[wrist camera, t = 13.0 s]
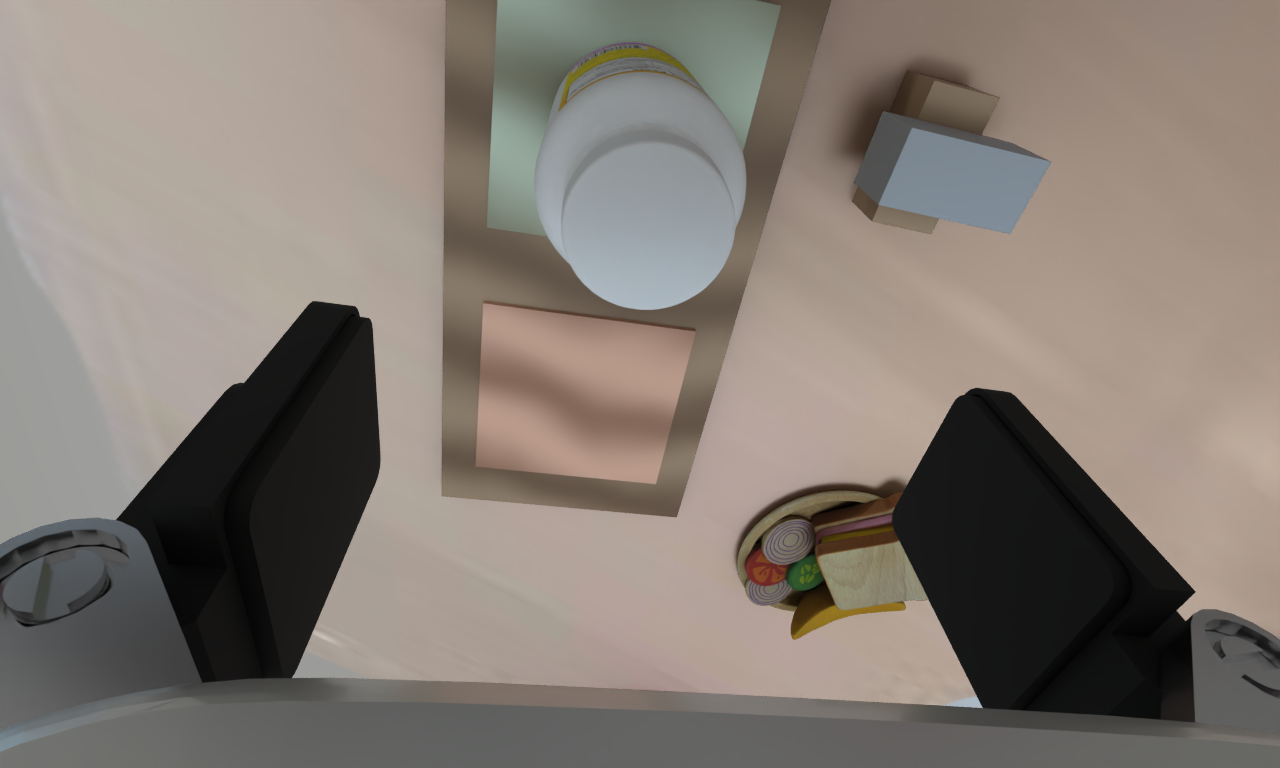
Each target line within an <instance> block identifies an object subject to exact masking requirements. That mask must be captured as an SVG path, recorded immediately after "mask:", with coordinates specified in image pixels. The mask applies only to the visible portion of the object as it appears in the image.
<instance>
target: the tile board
mask: <svg viewBox="0 0 1280 768" xmlns="http://www.w3.org/2000/svg"><path fill="white" fill-rule="evenodd" d="M830 2H831V0H446V55H445V174H444V292H443V410H442V496H446V497H457V498H468V499H479V500H490V501H502V502H513V503H524V504H535V505H546V506H557V507H568V508H579V509H590V510H601V511H612V512H624V513H635V514H646V515H657V516H668V517H677V515H678V511H679V508H680V505H681V501H682V498H683V495H684V491H685V488H686V484H687V481H688V478H689V474H690V471H691V468H692V464H693V461H694V458H695V454H696V451H697V448H698V444H699V441H700V438H701V434H702V431H703V428H704V424H705V421H706V417H707V414H708V411H709V407H710V404H711V401H712V397H713V394H714V391H715V387H716V384H717V381H718V377H719V374H720V371H721V367H722V364H723V360H724V357H725V354H726V350H727V347H728V344H729V340H730V337H731V334H732V330H733V327H734V324H735V320H736V317H737V314H738V310H739V307H740V303H741V300H742V297H743V293H744V290H745V287H746V283H747V280H748V277H749V273H750V270H751V267H752V263H753V260H754V257H755V253H756V250H757V247H758V243H759V240H760V236H761V233H762V230H763V226H764V223H765V220H766V216H767V213H768V210H769V206H770V203H771V200H772V196H773V193H774V190H775V186H776V183H777V179H778V176H779V173H780V169H781V166H782V163H783V159H784V156H785V153H786V149H787V146H788V143H789V139H790V136H791V133H792V129H793V126H794V122H795V119H796V116H797V112H798V109H799V106H800V102H801V99H802V96H803V92H804V89H805V86H806V82H807V79H808V76H809V72H810V69H811V66H812V62H813V59H814V55H815V52H816V49H817V45H818V42H819V39H820V35H821V32H822V29H823V25H824V22H825V19H826V15H827V12H828V9H829V5H830ZM625 42H634V43H642V44H647V45H650V46H653V47H656V48H659V49H661V50H663V51H665V52H666V53H668V54H670V55H671V56H673V57H674V58H676V59H677V60H678V61H679V62H680V63H681V64H682V65H684V66H685V67H686V69H687V70H688V71H689V72H690V73H691V74H692V76H693V77H694V78H695V79H696V81H698V83H699V84H700V85H701V87H702V88H703V89H704V90H705V92H706V93H707V94H708V95H709V97H710V98H711V99H712V100H713V101H714V102H715V104H716V105H717V106H718V107H719V109H720V110H721V111H722V112H723V114H724V115H725V117H726V118H727V120H728V121H729V123H730V124H731V126H732V127H733V129H734V131H735V133H736V135H737V138H738V140H739V143H740V145H741V148H742V152H743V156H744V161H745V167H746V195H745V201H744V206H743V210H742V214H741V217H740V219H739V222H738V224H737V226H736V229H735V236H734V241H733V246H732V249H731V251H730V254H729V257H728V259H727V261H726V263H725V264H724V266H723V268H722V270H721V271H720V273H719V274H718V275H717V277H716V278H715V279H714V280H713V281H712V282H711V283H710V284H709V285H708V286H707V287H706V288H705V289H704V290H702V291H701V292H700V293H698V294H697V295H695V296H694V297H692V298H690V299H688V300H686V301H684V302H682V303H680V304H677V305H674V306H671V307H667V308H662V309H655V310H638V309H632V308H626V307H622V306H619V305H616V304H613V303H611V302H608V301H606V300H604V299H602V298H601V297H599V296H597V295H596V294H595V293H593V292H592V291H591V290H590V289H589V288H588V287H586V286H585V285H584V284H583V283H582V282H581V280H580V279H579V278H578V277H577V275H576V274H575V272H574V270H573V269H572V267H571V265H570V264H569V263H568V262H567V261H566V260H565V259H564V258H563V257H562V256H561V255H560V254H559V253H558V251H557V250H556V249H555V247H554V246H553V244H552V243H551V241H550V240H549V238H548V236H547V234H546V232H545V230H544V228H543V225H542V223H541V220H540V218H539V214H538V210H537V206H536V200H535V191H534V177H535V166H536V161H537V156H538V153H539V150H540V147H541V144H542V141H543V138H544V134H545V131H546V127H547V123H548V120H549V116H550V112H551V109H552V105H553V102H554V99H555V96H556V94H557V91H558V89H559V87H560V85H561V83H562V81H563V80H564V78H565V77H566V75H567V74H568V73H569V71H570V70H571V69H572V68H573V67H574V66H575V65H576V64H577V63H578V62H579V61H580V60H581V59H582V58H584V57H585V56H587V55H588V54H590V53H592V52H593V51H595V50H597V49H599V48H602V47H605V46H607V45H612V44H616V43H625Z"/></svg>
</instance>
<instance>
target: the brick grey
mask: <svg viewBox="0 0 1280 768" xmlns="http://www.w3.org/2000/svg"><path fill="white" fill-rule="evenodd" d="M1050 163H1051V161H1049V160H1047V159H1044V158H1042V157H1040V156H1038V155H1036V154H1034V153H1032V152H1030V151H1027V150H1025V149H1023V148H1021V147H1019V146H1017V145H1015V144H1013V143H1010V142H1006V141H1002V140H998V139H994V138H990V137H986V136H982V135H978V134H974V133H970V132H966V131H962V130H958V129H954V128H950V127H946V126H942V125H938V124H934V123H930V122H925V121H921V120H917V119H913V118H909V117H905V116H901V115H897V114H893V113H889V112H885V111H883V113H882V115H881V118H880V120H879V122H878V125H877V127H876V130H875V132H874V135H873V137H872V140H871V142H870V144H869V147H868V149H867V152H866V154H865V157H864V159H863V162H862V164H861V166H860V169H859V171H858V174H857V176H856V179H855V181H854V183H855V184H856V185H857V186H858V187H860V188H861V189H862V190H863V191H864V192H865V193H866V194H867V195H868V196H869V197H870V198H871V199H873V200H874V201H875V202H876V203H877V204H878V205H881V206H886V207H890V208H895V209H899V210H904V211H908V212H913V213H917V214H922V215H926V216H931V217H935V218H940V219H944V220H949V221H954V222H958V223H963V224H967V225H972V226H976V227H981V228H985V229H990V230H994V231H999V232H1003V233H1008V234H1011V232H1012V230H1013V228H1014V227H1015V225H1016V223H1017V221H1018V219H1019V218H1020V216H1021V214H1022V212H1023V211H1024V209H1025V207H1026V205H1027V204H1028V202H1029V200H1030V198H1031V197H1032V195H1033V193H1034V191H1035V190H1036V188H1037V186H1038V184H1039V183H1040V181H1041V179H1042V177H1043V176H1044V174H1045V172H1046V170H1047V169H1048V167H1049V165H1050Z"/></svg>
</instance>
